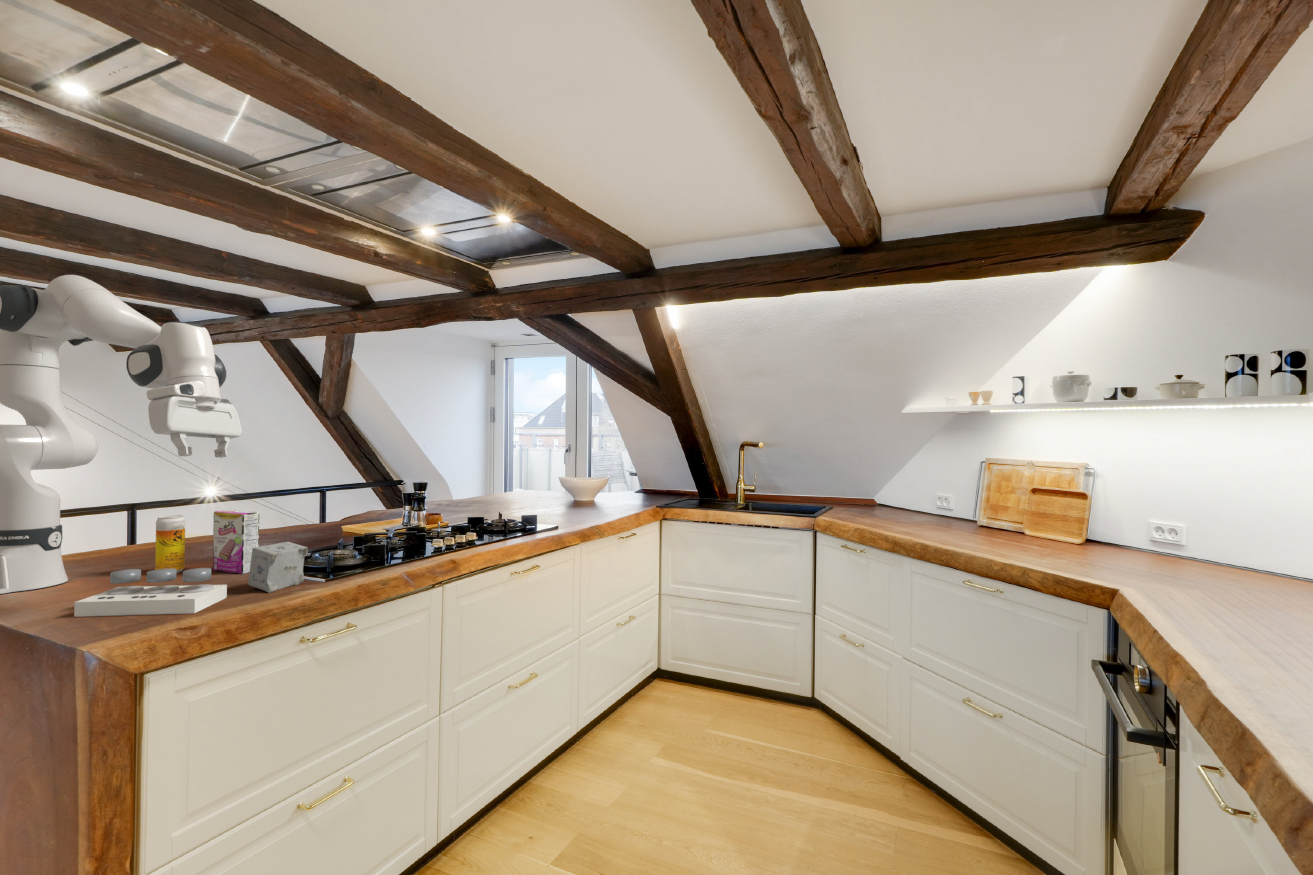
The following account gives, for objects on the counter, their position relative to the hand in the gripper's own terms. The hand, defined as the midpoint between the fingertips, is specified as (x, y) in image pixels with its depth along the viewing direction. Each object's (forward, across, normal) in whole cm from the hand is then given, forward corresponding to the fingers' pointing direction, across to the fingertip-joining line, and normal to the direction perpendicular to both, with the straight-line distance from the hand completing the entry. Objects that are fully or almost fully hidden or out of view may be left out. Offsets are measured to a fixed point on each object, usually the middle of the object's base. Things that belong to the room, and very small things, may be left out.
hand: (204, 456), depth 126 cm
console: (+30, -2, -17) cm, 34 cm away
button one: (+26, -5, -10) cm, 28 cm away
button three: (+24, -4, -17) cm, 30 cm away
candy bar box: (+26, -35, -25) cm, 50 cm away
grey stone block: (+32, -20, -3) cm, 38 cm away
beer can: (+23, -32, -40) cm, 56 cm away
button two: (+23, -2, -23) cm, 33 cm away
